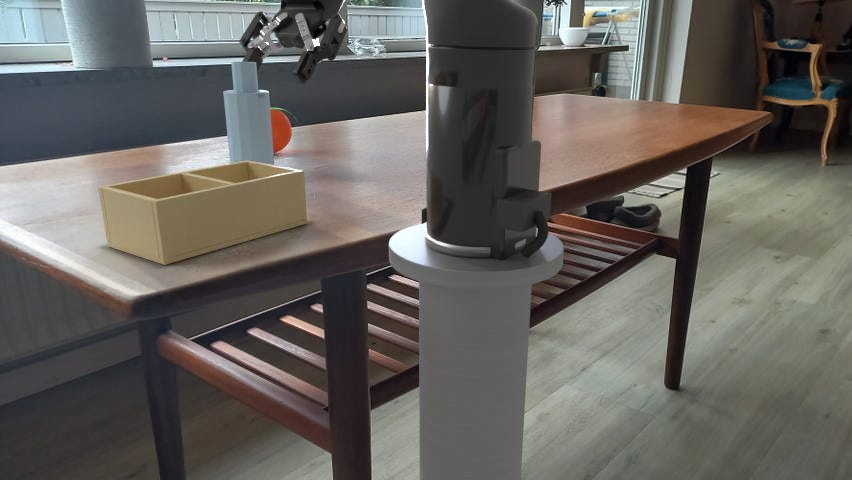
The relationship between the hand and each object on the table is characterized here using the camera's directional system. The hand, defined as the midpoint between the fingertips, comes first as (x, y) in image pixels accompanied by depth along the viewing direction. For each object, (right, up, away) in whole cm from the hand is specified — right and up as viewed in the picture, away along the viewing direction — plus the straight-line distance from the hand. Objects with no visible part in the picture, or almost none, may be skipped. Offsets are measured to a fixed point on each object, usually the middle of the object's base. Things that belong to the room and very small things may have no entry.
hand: (271, 77), depth 90 cm
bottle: (-2, -13, 0) cm, 13 cm away
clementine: (-5, -7, +17) cm, 19 cm away
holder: (+2, -22, -24) cm, 32 cm away
